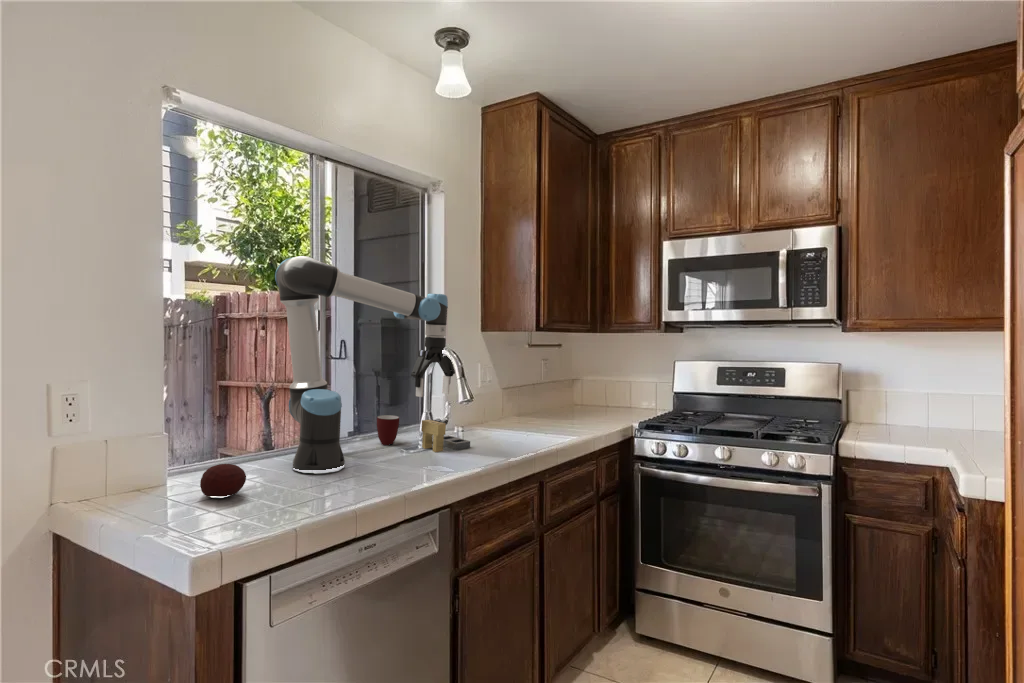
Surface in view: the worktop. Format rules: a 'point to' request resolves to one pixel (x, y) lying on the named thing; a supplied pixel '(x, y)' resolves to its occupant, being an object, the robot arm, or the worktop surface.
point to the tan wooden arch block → (433, 434)
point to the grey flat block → (455, 443)
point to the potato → (222, 480)
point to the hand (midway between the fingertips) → (432, 395)
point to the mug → (387, 428)
